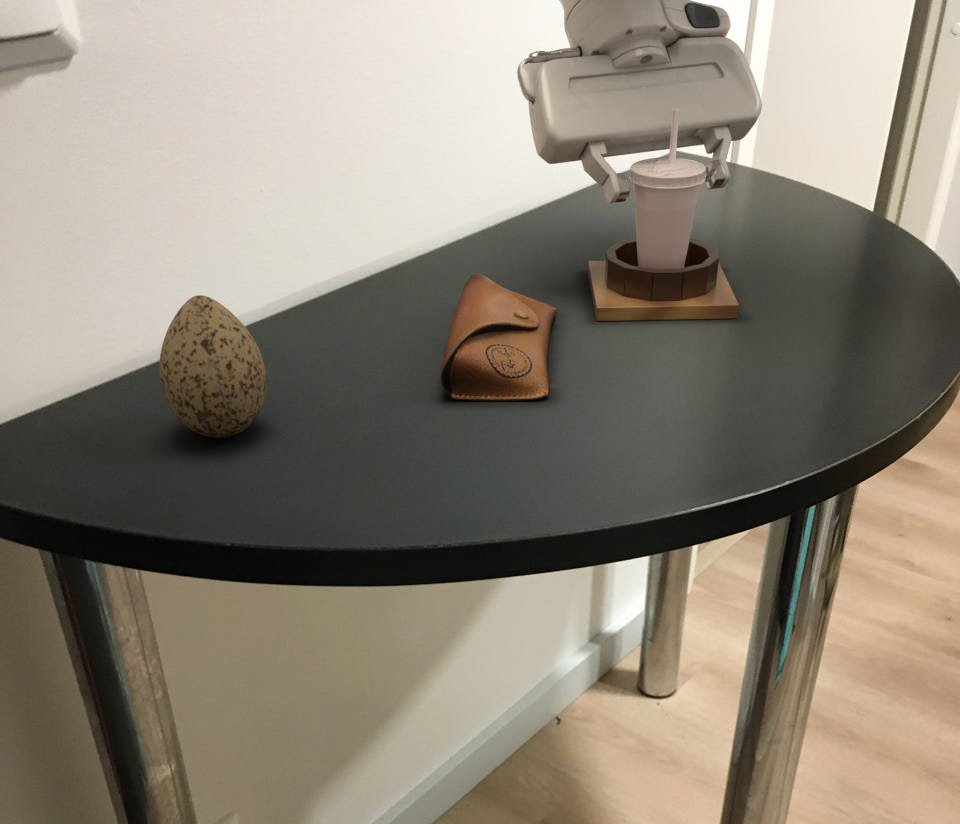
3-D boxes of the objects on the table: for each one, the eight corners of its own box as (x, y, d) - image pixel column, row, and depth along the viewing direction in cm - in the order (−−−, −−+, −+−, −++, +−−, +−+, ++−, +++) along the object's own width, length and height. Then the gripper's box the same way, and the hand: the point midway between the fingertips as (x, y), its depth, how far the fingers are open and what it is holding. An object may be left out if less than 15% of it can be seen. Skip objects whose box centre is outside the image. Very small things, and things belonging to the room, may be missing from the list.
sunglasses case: (555, 395, 82) (508, 319, 78) (475, 438, 84) (426, 367, 81) (558, 306, 96) (519, 239, 93) (490, 346, 99) (449, 282, 95)
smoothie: (710, 278, 99) (727, 108, 90) (669, 299, 95) (683, 123, 86) (650, 264, 102) (661, 98, 94) (609, 283, 98) (616, 112, 90)
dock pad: (715, 270, 104) (720, 230, 101) (737, 318, 94) (742, 275, 92) (587, 273, 104) (589, 233, 102) (596, 321, 94) (597, 278, 92)
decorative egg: (230, 465, 75) (204, 323, 69) (152, 443, 78) (120, 305, 72) (294, 423, 80) (275, 287, 74) (217, 404, 83) (193, 272, 77)
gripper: (521, 28, 89) (568, 186, 87) (743, 8, 94) (791, 156, 93) (502, 79, 95) (545, 227, 93) (712, 57, 100) (756, 197, 99)
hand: (670, 191), depth 93 cm, fingers open, 8 cm apart
